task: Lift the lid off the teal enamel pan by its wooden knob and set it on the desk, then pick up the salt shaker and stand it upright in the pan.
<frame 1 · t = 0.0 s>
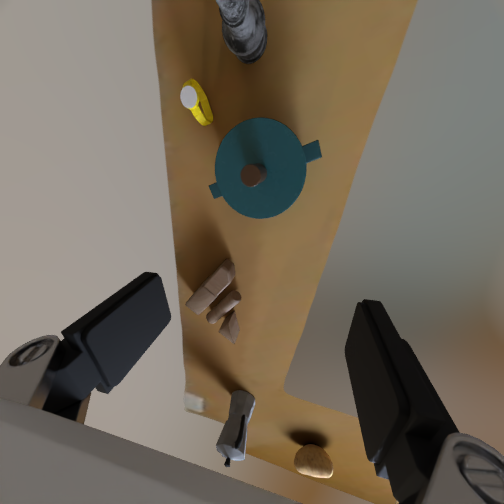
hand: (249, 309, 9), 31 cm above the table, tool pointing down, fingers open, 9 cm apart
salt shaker: (249, 40, 29), on the table
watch: (207, 108, 34), on the table
pan lid: (258, 173, 30), point 6 cm above the table, touching pan
coffeepot: (244, 395, 70), on the table
wooden block set: (233, 297, 51), on the table
potato: (312, 445, 74), on the table
pan: (265, 171, 36), on the table
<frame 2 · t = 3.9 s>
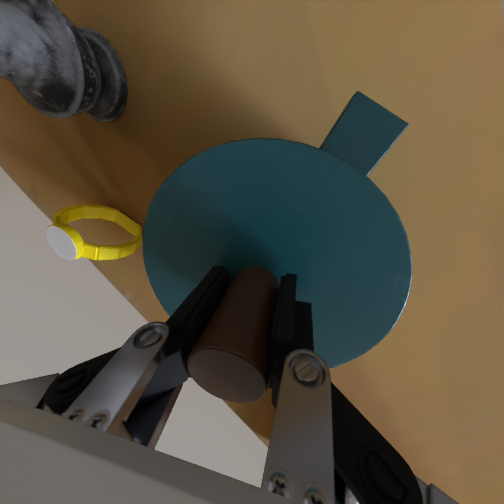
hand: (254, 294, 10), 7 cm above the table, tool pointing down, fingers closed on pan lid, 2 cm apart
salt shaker: (98, 80, 14), on the table
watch: (129, 221, 19), on the table
pan lid: (259, 281, 11), point 6 cm above the table, touching gripper, pan
pan: (273, 242, 16), on the table
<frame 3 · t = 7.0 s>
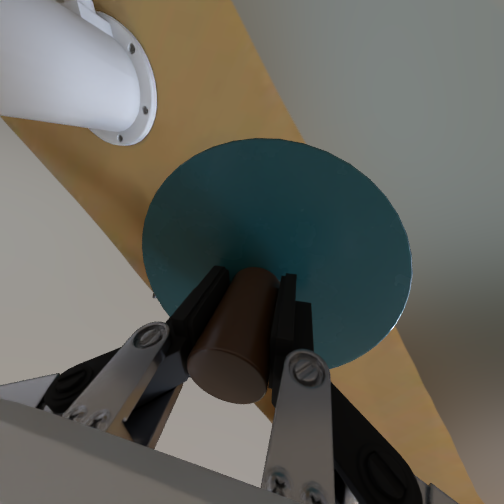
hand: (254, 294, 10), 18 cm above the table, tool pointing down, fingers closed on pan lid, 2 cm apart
pan lid: (259, 282, 11), point 17 cm above the table, touching gripper
when the fingers open (2 cm above the table, at t = 10.2 s): pan lid stays where it is, point 1 cm above the table.
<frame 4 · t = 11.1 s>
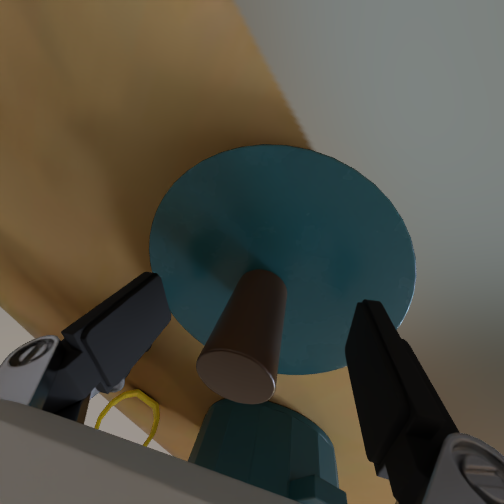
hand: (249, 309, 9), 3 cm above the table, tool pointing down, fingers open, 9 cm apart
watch: (147, 394, 23), on the table
pan lid: (264, 284, 11), point 1 cm above the table
pan: (266, 436, 20), on the table
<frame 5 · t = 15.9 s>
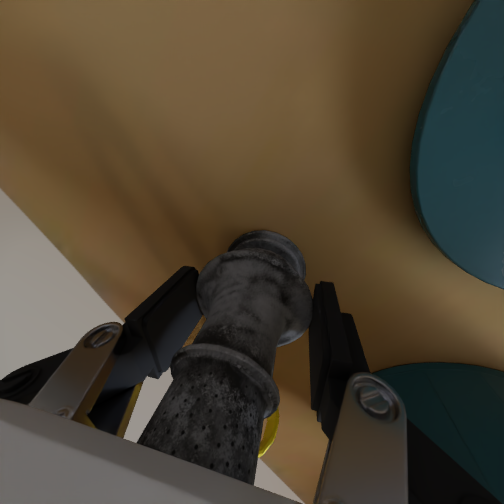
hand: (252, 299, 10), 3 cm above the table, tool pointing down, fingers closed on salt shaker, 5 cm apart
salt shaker: (264, 267, 13), on the table, touching gripper
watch: (251, 369, 18), on the table
pan: (435, 421, 15), on the table
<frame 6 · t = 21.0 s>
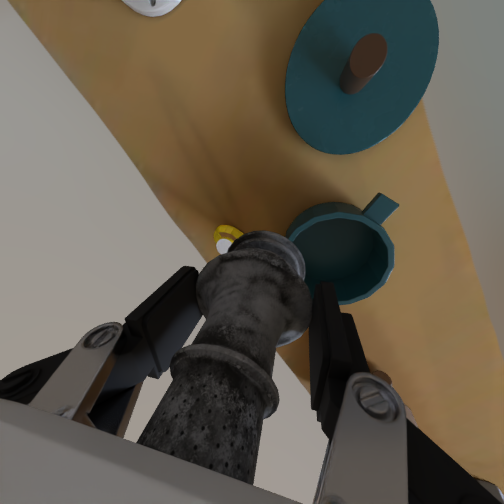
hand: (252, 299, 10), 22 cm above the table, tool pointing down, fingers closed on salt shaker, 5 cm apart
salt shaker: (264, 267, 13), point 18 cm above the table, touching gripper
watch: (238, 233, 33), on the table
pan lid: (352, 80, 21), point 1 cm above the table
coffeepot: (476, 484, 48), on the table
pan: (328, 245, 30), on the table
when the fingers open (4 cm above the table, at t = 26.4 s): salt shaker stays where it is, resting on pan.
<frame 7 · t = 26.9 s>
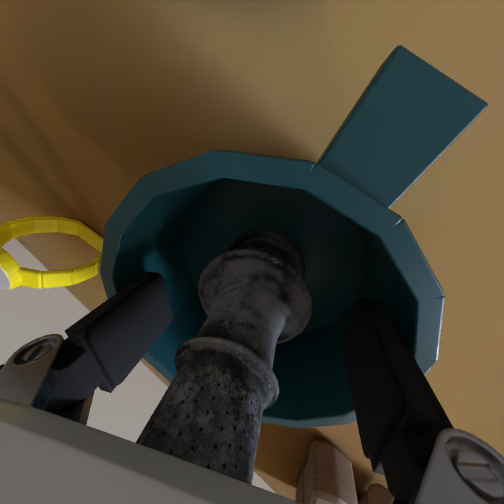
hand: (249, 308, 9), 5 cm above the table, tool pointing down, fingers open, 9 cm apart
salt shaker: (264, 266, 13), resting on pan
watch: (95, 234, 16), on the table
wooden block set: (374, 487, 23), on the table
pan: (265, 264, 13), on the table
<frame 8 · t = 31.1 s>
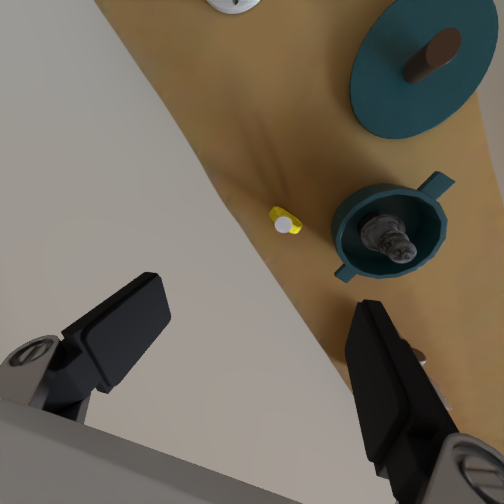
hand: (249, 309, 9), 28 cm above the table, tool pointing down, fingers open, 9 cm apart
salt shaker: (374, 226, 32), resting on pan
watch: (287, 215, 35), on the table
pan lid: (414, 70, 23), point 1 cm above the table
pan: (373, 225, 32), on the table
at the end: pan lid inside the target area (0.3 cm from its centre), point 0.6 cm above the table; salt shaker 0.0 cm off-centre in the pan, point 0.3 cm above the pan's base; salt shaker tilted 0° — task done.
